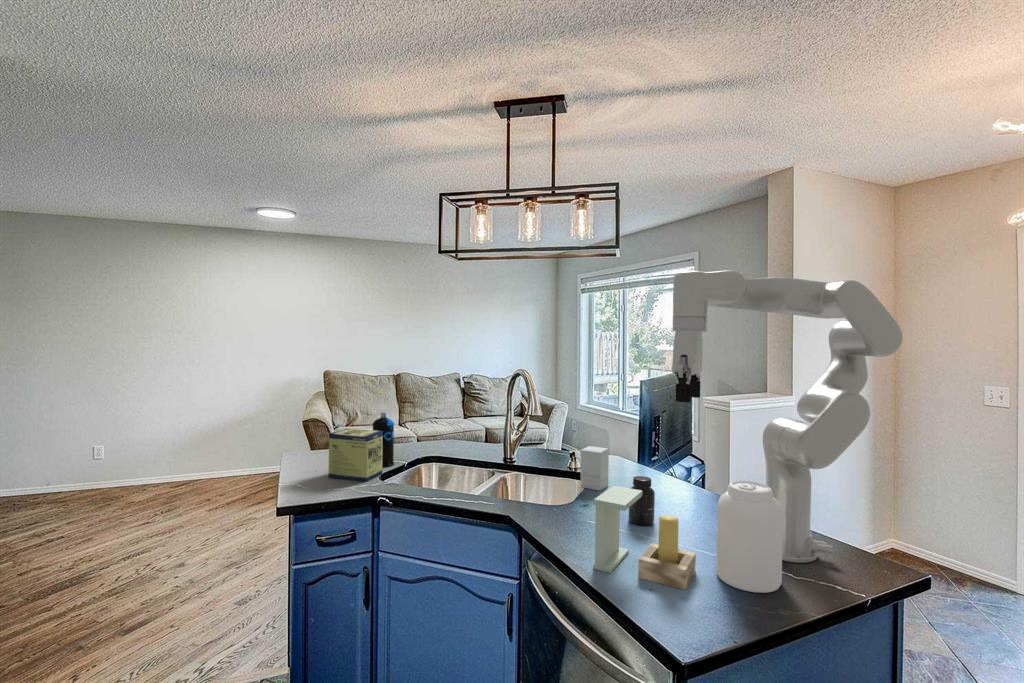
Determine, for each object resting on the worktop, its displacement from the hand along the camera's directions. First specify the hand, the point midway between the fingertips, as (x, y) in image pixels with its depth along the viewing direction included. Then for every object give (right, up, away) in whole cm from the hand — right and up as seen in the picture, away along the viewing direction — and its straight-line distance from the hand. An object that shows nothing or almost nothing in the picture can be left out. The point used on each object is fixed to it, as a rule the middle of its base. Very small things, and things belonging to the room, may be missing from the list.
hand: (688, 399), depth 119 cm
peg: (-7, -36, -9) cm, 38 cm away
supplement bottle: (-5, -36, +21) cm, 42 cm away
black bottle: (-90, -34, +77) cm, 123 cm away
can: (+9, -37, -11) cm, 39 cm away
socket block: (-7, -36, -9) cm, 38 cm away
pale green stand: (-17, -36, -3) cm, 40 cm away
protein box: (-95, -34, +62) cm, 119 cm away
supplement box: (-13, -35, +53) cm, 65 cm away
